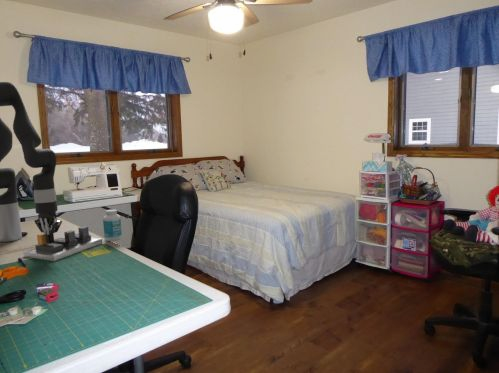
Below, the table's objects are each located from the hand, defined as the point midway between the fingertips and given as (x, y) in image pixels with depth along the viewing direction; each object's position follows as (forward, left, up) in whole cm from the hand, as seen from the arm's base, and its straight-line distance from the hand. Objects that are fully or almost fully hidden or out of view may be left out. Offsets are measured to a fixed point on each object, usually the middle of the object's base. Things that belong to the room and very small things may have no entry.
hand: (50, 243), depth 141 cm
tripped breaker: (-4, 0, -1) cm, 4 cm away
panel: (-1, +7, -5) cm, 8 cm away
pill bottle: (+8, +25, -5) cm, 27 cm away
